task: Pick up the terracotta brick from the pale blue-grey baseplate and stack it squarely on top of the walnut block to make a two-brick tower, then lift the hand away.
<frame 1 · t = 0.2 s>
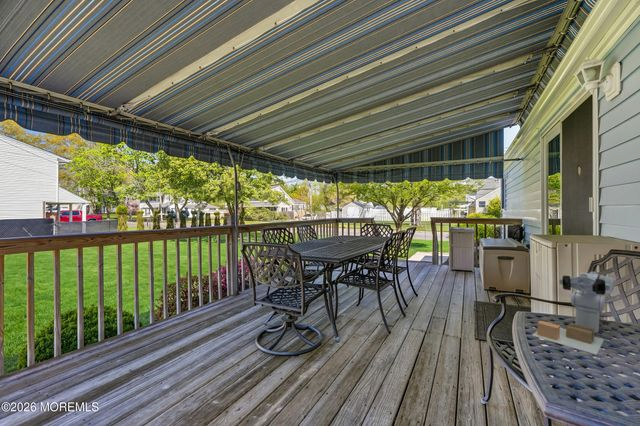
hand: (579, 286, 106), 21 cm above the table, tool horizontal, fingers open, 7 cm apart
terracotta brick: (548, 335, 110), point 1 cm above the table, touching baseplate
walnut block: (579, 338, 109), point 1 cm above the table, touching baseplate
baseplate: (567, 339, 110), on the table
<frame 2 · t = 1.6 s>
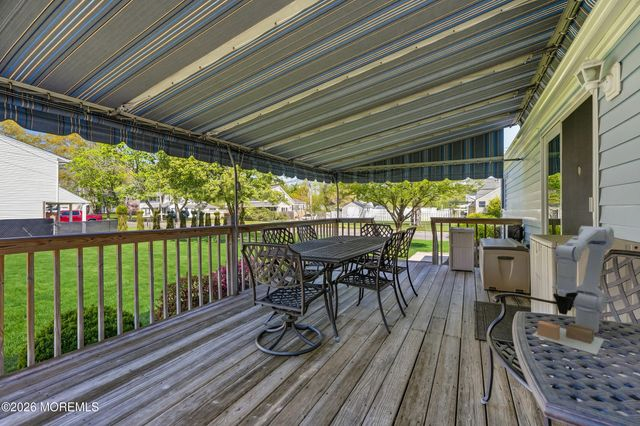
hand: (565, 312, 110), 10 cm above the table, tool pointing down, fingers open, 7 cm apart
nothing on the table moved.
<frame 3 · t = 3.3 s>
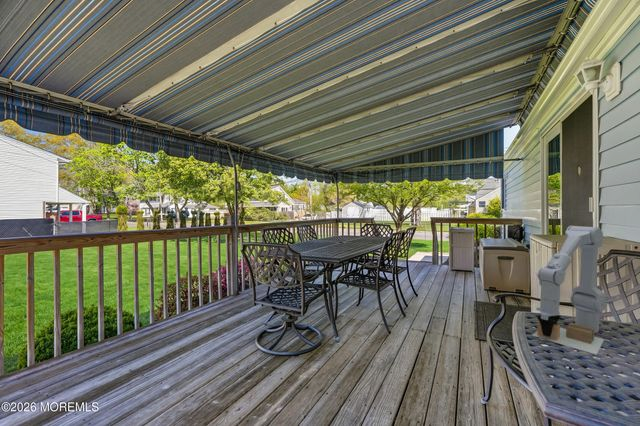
hand: (548, 334, 110), 1 cm above the table, tool pointing down, fingers closed on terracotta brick, 4 cm apart
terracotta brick: (548, 335, 110), point 1 cm above the table, touching baseplate, gripper
everything else where it was.
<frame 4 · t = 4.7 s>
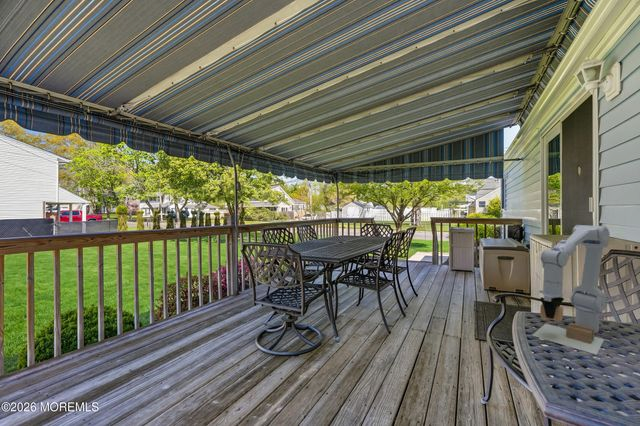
hand: (551, 316, 110), 8 cm above the table, tool pointing down, fingers closed on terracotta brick, 4 cm apart
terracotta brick: (551, 318, 110), point 8 cm above the table, touching gripper
everything else where it was.
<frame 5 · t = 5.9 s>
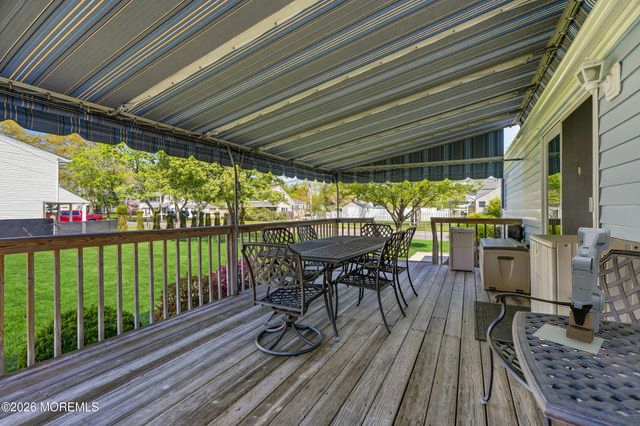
hand: (580, 323, 109), 6 cm above the table, tool pointing down, fingers closed on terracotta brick, 4 cm apart
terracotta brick: (580, 325, 109), point 6 cm above the table, touching gripper
everything else where it was.
when the fingers open (6 cm above the table, at t = 6.5 s): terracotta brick drops 1 cm, resting on walnut block.
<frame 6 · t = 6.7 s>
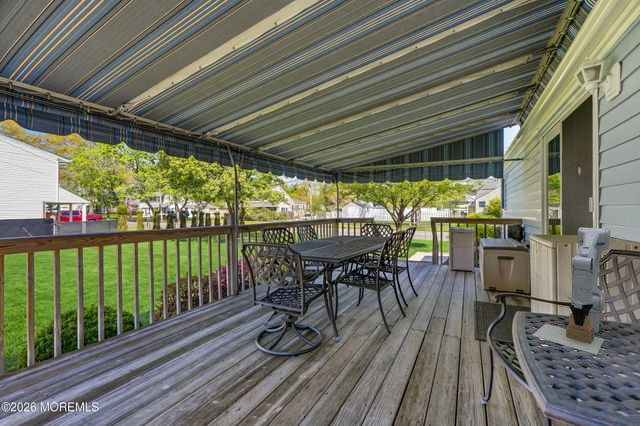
hand: (580, 323, 109), 6 cm above the table, tool pointing down, fingers open, 6 cm apart
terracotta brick: (580, 327, 109), point 5 cm above the table, touching walnut block
walnut block: (579, 338, 109), point 1 cm above the table, touching baseplate, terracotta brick
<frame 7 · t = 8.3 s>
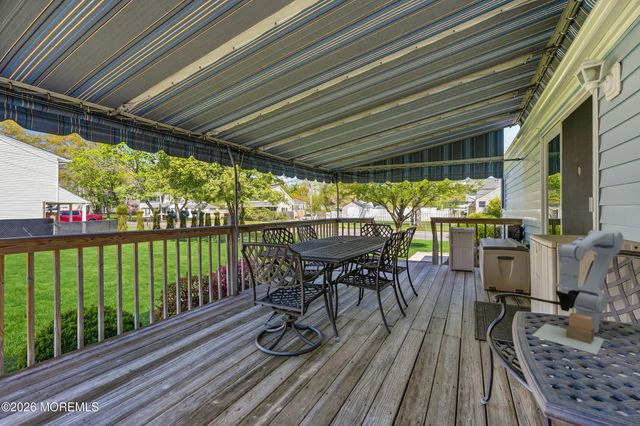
hand: (567, 309, 113), 10 cm above the table, tool pointing down, fingers open, 7 cm apart
nothing on the table moved.
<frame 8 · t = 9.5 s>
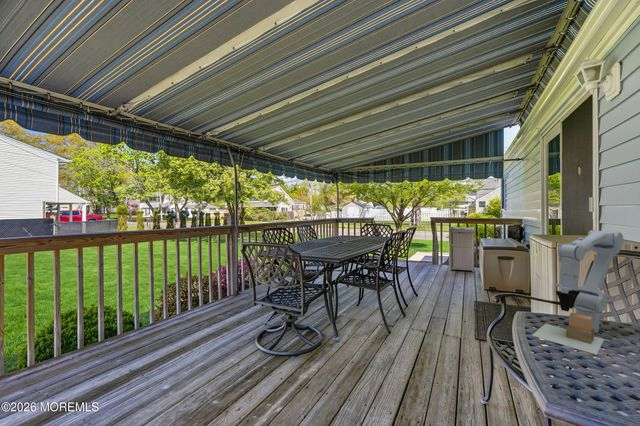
hand: (567, 309, 113), 10 cm above the table, tool pointing down, fingers open, 7 cm apart
nothing on the table moved.
at the end: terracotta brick 0.0 cm off-centre on the walnut block, point 4.0 cm above the walnut block's base; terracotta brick tilted 0°; the gripper is holding nothing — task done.
